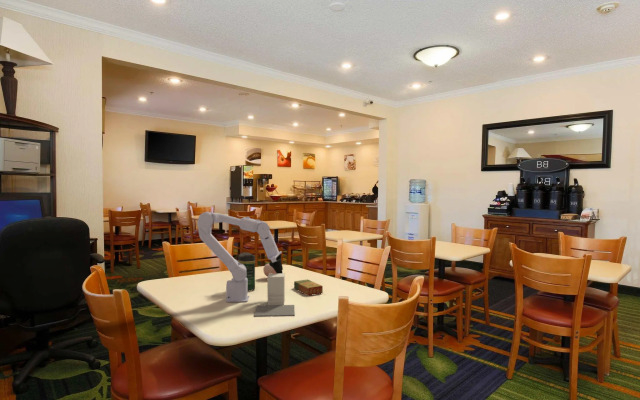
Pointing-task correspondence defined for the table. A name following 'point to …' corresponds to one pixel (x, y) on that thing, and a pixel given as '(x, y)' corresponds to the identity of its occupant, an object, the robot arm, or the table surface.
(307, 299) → the table surface
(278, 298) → the supplement box
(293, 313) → the mat
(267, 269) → the decorative fruit
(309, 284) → the carton
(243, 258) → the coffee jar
